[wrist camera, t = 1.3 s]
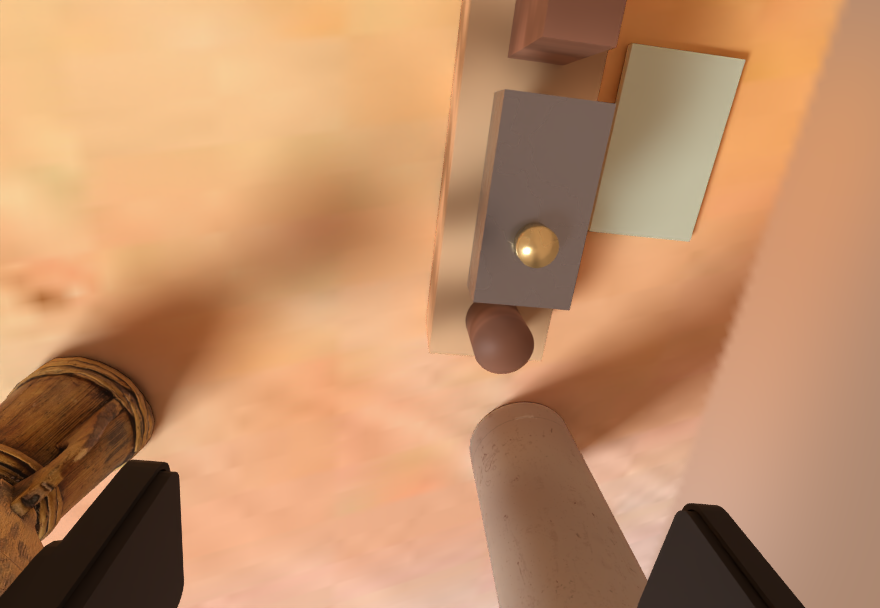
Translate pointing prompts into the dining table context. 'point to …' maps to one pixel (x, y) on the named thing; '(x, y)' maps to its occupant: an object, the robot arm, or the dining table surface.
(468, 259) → the body
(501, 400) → the dining table surface
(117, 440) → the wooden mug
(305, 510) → the dining table surface
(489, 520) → the thermos bottle
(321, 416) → the dining table surface
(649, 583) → the robot arm
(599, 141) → the lever cap
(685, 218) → the felt mat
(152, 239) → the dining table surface
